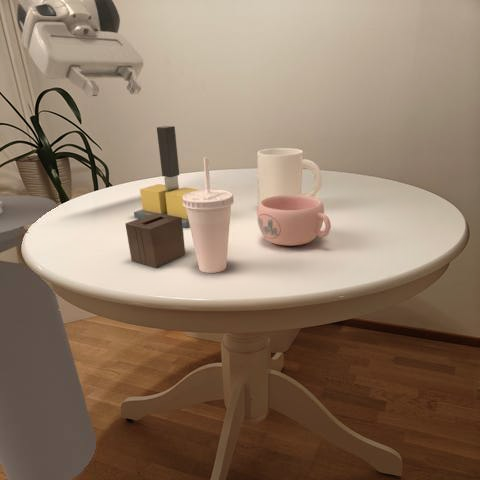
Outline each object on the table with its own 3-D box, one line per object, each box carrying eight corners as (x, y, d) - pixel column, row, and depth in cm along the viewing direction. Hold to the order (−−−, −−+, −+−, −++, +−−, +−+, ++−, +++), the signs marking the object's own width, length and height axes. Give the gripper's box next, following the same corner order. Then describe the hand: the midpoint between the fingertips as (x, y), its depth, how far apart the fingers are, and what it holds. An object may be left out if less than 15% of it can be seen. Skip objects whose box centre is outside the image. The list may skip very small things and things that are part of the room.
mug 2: (244, 242, 65) (243, 204, 62) (283, 226, 72) (283, 191, 69) (309, 260, 58) (311, 218, 55) (345, 241, 64) (349, 202, 62)
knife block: (131, 261, 60) (124, 223, 57) (161, 248, 64) (156, 212, 61) (156, 268, 57) (150, 229, 55) (185, 254, 62) (181, 217, 59)
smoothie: (237, 258, 60) (233, 153, 53) (234, 276, 54) (230, 162, 47) (192, 258, 60) (183, 154, 53) (185, 277, 54) (173, 163, 48)
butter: (142, 210, 79) (139, 189, 77) (161, 204, 83) (159, 183, 81) (187, 219, 74) (185, 196, 72) (205, 212, 77) (204, 190, 75)
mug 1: (322, 204, 83) (326, 148, 78) (317, 216, 76) (320, 155, 71) (263, 201, 86) (263, 147, 81) (253, 212, 79) (252, 154, 74)
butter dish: (134, 217, 79) (133, 212, 79) (164, 207, 85) (163, 202, 84) (186, 228, 73) (185, 222, 72) (214, 216, 78) (214, 211, 78)
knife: (164, 212, 78) (154, 127, 71) (175, 208, 80) (167, 125, 73) (173, 214, 77) (164, 127, 69) (184, 210, 79) (176, 126, 72)
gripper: (111, 47, 83) (152, 103, 83) (12, 42, 69) (61, 110, 69) (122, 17, 79) (166, 76, 79) (19, 5, 64) (72, 78, 64)
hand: (116, 92), depth 74 cm, fingers open, 8 cm apart
